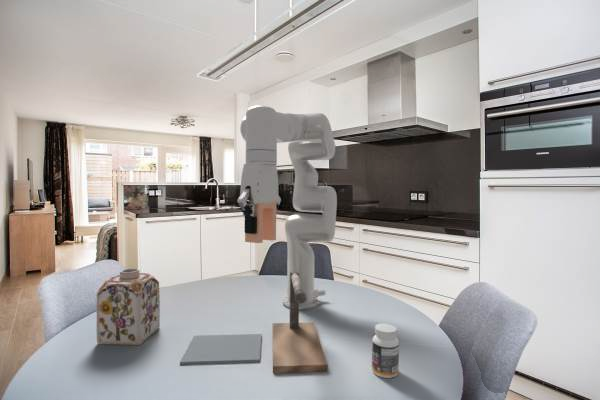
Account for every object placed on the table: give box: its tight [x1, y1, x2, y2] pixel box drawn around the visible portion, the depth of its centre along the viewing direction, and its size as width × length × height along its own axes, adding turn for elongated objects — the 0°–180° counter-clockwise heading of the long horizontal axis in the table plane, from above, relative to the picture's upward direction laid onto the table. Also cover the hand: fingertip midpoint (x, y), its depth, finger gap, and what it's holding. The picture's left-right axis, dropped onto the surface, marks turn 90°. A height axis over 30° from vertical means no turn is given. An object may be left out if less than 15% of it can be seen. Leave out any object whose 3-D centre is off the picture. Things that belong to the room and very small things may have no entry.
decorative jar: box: [95, 267, 161, 346], centre depth 91 cm, size 12×12×18 cm
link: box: [244, 200, 277, 244], centre depth 82 cm, size 7×4×10 cm, turn 150°
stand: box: [272, 271, 328, 374], centre depth 85 cm, size 12×24×17 cm, turn 5°
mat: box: [179, 333, 262, 365], centre depth 84 cm, size 18×14×1 cm
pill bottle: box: [371, 323, 400, 379], centre depth 74 cm, size 6×6×10 cm
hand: (260, 231), depth 82 cm, fingers closed on link, 7 cm apart
